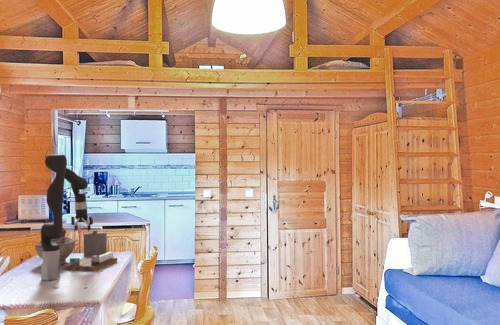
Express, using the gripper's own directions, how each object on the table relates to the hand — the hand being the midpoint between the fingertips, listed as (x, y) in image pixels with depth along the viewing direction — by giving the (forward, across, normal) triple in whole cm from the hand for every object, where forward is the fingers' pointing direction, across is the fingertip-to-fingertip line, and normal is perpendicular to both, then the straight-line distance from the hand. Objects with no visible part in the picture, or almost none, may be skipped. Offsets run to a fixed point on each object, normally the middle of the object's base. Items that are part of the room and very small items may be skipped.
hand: (82, 230), depth 277 cm
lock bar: (+18, +17, -11) cm, 27 cm away
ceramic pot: (+22, -19, -5) cm, 30 cm away
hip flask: (+25, +1, +14) cm, 29 cm away
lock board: (+22, +9, -10) cm, 25 cm away
